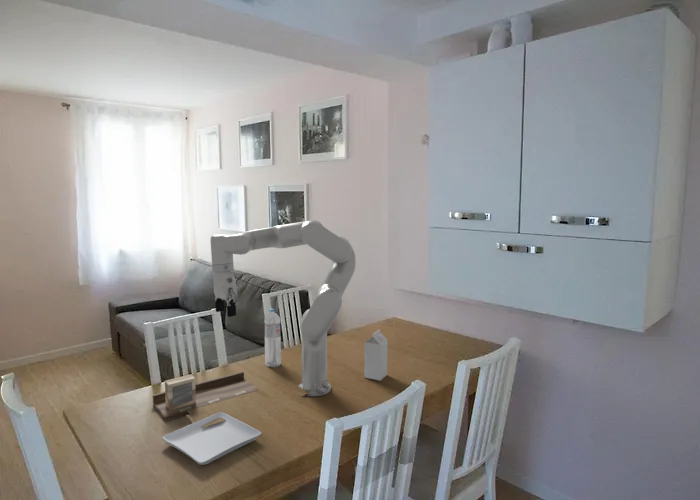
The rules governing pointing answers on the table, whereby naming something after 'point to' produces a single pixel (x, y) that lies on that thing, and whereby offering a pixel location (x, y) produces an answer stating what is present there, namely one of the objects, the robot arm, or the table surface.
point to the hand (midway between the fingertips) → (225, 313)
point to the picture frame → (180, 392)
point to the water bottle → (272, 340)
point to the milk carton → (376, 357)
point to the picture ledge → (206, 394)
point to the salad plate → (211, 438)
